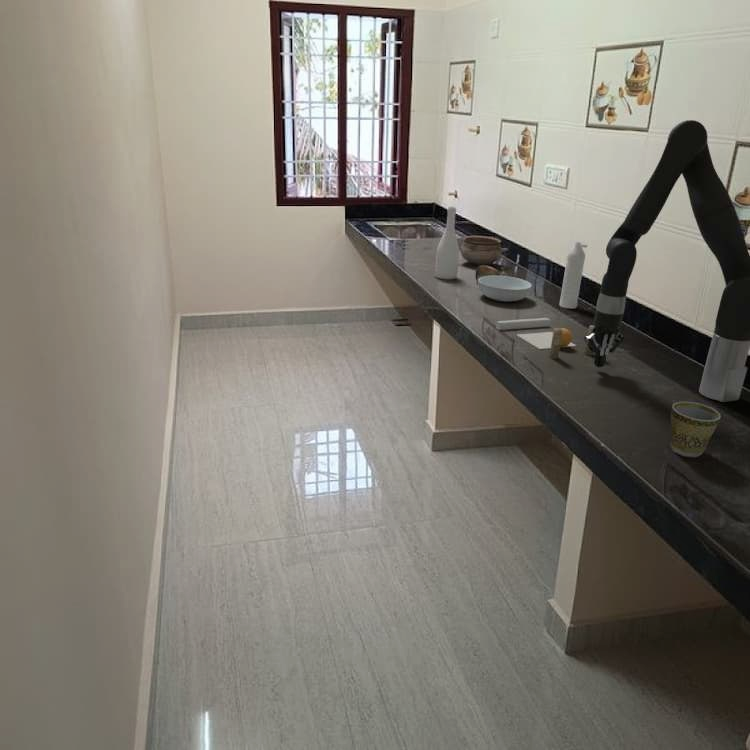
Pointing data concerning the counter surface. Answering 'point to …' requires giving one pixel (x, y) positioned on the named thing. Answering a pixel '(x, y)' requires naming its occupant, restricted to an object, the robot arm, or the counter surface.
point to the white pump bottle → (572, 276)
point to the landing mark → (540, 340)
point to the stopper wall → (522, 323)
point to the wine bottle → (448, 250)
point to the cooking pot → (481, 250)
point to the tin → (485, 271)
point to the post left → (555, 343)
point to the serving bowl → (504, 288)
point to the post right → (587, 350)
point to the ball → (565, 337)
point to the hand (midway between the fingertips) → (599, 366)
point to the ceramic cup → (692, 427)
